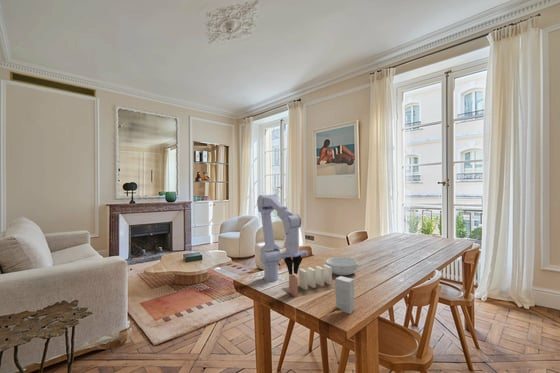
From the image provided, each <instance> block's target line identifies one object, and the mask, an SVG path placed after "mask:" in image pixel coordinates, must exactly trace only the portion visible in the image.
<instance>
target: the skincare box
mask: <svg viewBox="0 0 560 373" xmlns="http://www.w3.org/2000/svg"><path fill="white" fill-rule="evenodd" d="M334 281H335V282H334V283H335V285H336V289H335V308H338V311H340V312H342V313H346V314H349V315H350V314H352V313H353V312H354V311H355V310H356V308H355V306H356V305H355V300H356V299H355V279H354V278H350V277H346V276H343V275H339V276H338V277H336V278H334Z"/></svg>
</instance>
